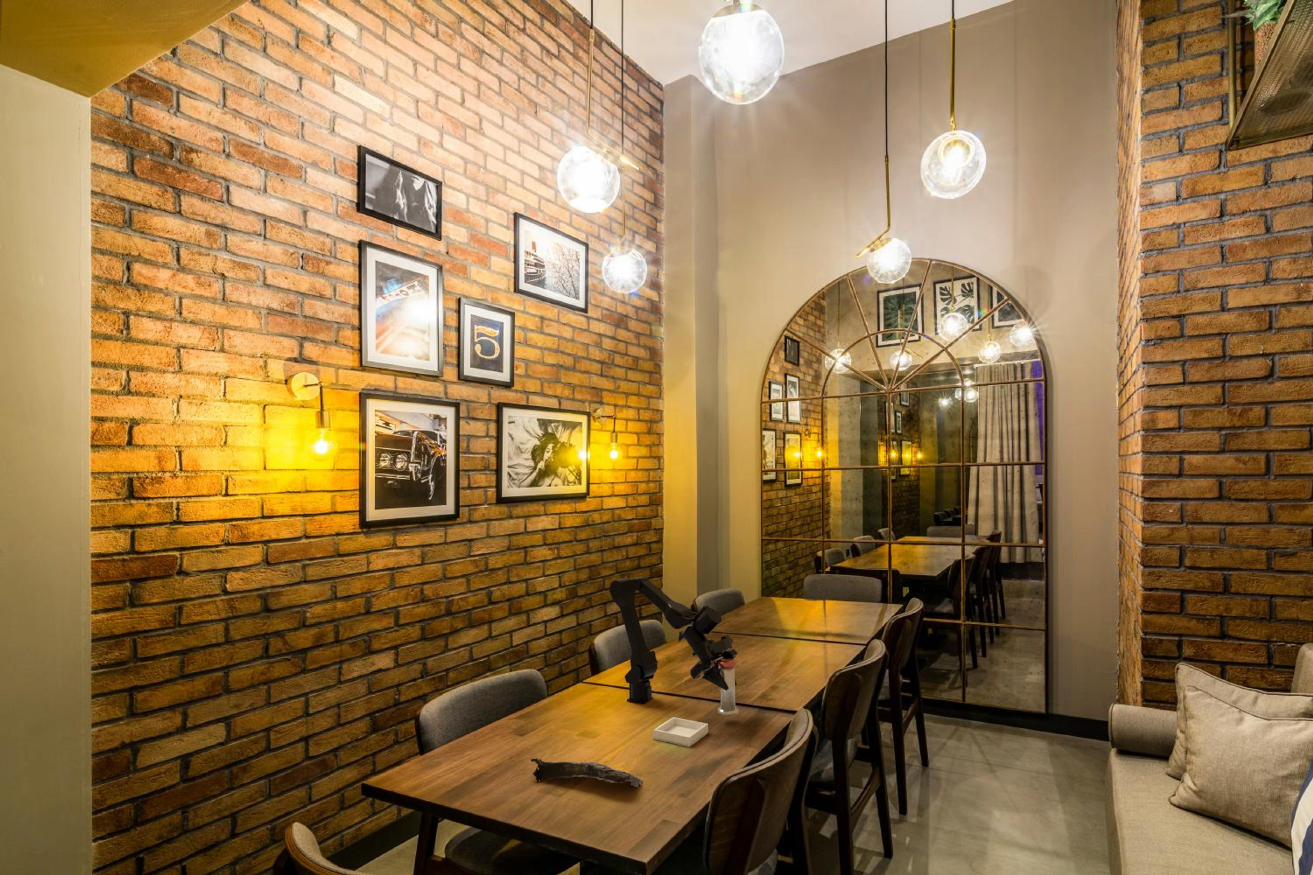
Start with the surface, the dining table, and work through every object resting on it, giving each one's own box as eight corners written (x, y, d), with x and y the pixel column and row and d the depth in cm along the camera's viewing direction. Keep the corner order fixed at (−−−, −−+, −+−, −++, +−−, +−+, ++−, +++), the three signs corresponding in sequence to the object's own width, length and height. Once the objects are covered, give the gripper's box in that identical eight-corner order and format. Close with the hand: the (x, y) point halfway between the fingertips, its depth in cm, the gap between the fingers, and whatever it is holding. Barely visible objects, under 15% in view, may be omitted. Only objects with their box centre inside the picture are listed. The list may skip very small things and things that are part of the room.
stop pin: (714, 712, 194) (713, 661, 195) (723, 706, 199) (722, 657, 200) (733, 716, 191) (732, 664, 192) (741, 710, 196) (740, 659, 197)
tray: (653, 739, 183) (653, 729, 183) (673, 725, 192) (673, 716, 193) (689, 746, 177) (689, 737, 177) (708, 732, 187) (708, 723, 187)
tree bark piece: (534, 787, 163) (518, 773, 156) (547, 751, 169) (532, 736, 162) (636, 815, 153) (624, 802, 146) (647, 776, 158) (636, 762, 152)
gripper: (698, 633, 192) (731, 679, 184) (731, 621, 206) (764, 663, 199) (676, 656, 196) (708, 702, 188) (710, 643, 211) (741, 685, 203)
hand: (731, 687), depth 195 cm, fingers closed on stop pin, 4 cm apart
